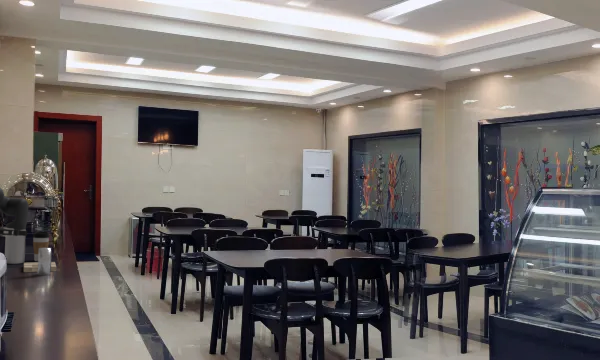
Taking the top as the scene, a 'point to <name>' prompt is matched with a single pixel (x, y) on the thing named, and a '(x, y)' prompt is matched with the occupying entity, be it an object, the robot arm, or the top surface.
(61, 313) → the top surface
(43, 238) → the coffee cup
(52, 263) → the mounting board
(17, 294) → the top surface
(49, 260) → the grey cylinder
